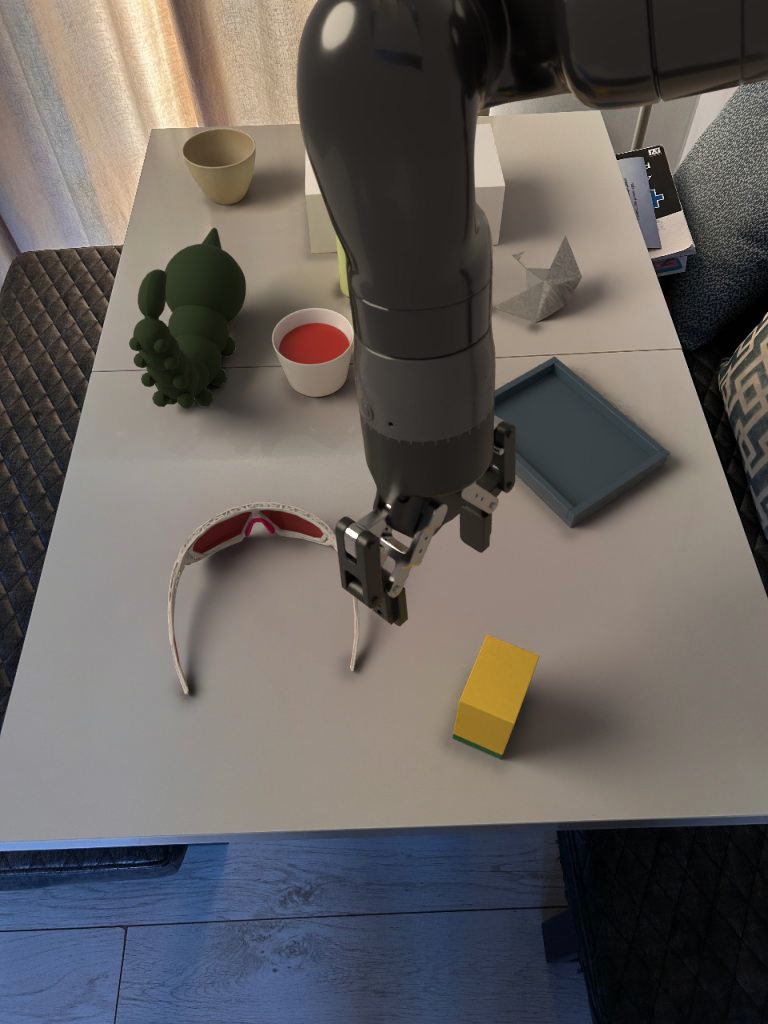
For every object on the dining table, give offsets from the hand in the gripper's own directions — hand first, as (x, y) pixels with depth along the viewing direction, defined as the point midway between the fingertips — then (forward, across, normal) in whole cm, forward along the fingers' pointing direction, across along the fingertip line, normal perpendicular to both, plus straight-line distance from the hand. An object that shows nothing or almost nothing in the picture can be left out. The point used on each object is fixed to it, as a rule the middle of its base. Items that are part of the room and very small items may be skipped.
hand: (435, 579), depth 53 cm
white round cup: (+11, +20, +37) cm, 43 cm away
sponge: (+19, +2, -3) cm, 19 cm away
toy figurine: (+9, +13, +48) cm, 51 cm away
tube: (+8, +34, +44) cm, 56 cm away
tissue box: (+6, +49, +50) cm, 70 cm away
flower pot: (+3, +35, +72) cm, 80 cm away
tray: (+14, +31, +10) cm, 36 cm away
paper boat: (+10, +48, +26) cm, 56 cm away
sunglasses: (+15, -4, +19) cm, 25 cm away
